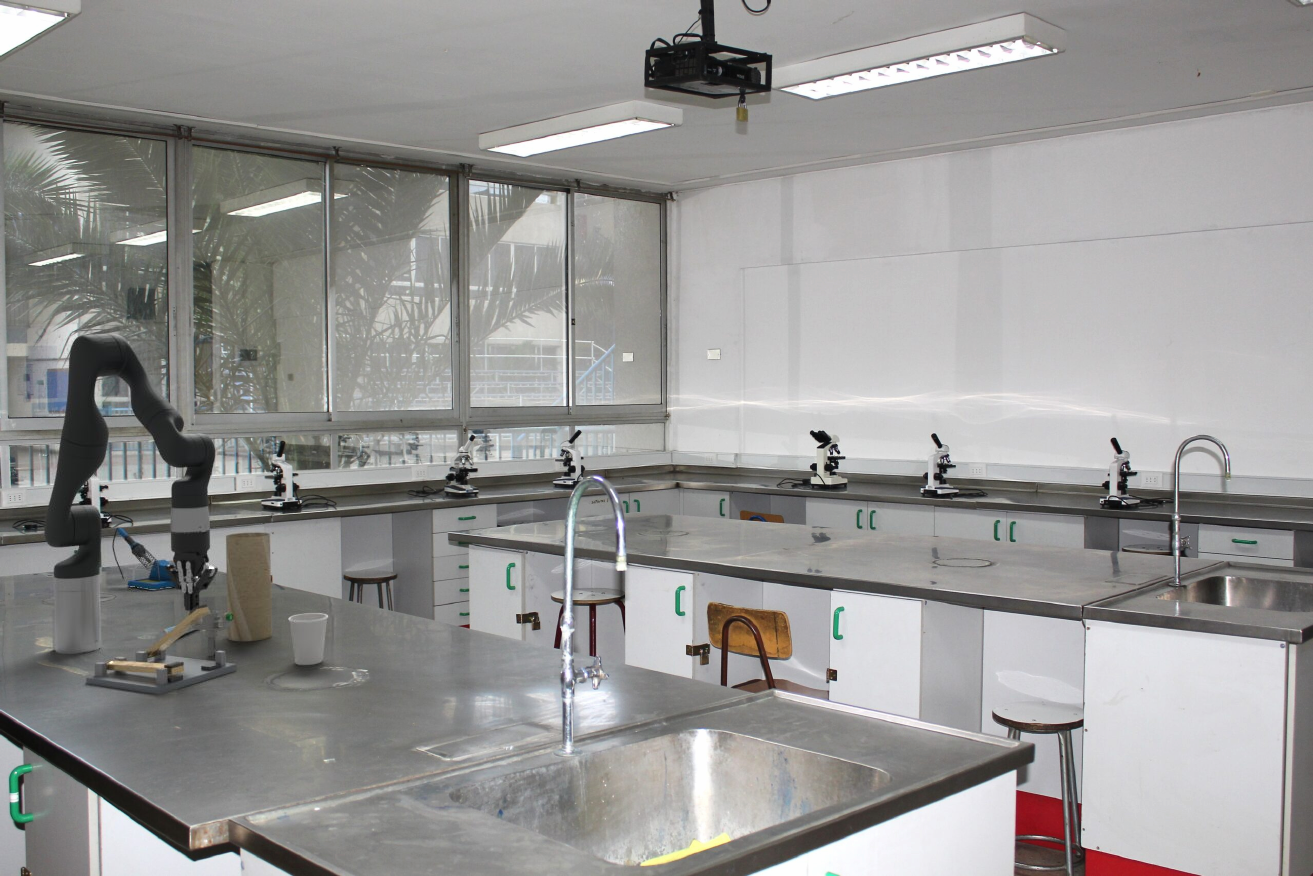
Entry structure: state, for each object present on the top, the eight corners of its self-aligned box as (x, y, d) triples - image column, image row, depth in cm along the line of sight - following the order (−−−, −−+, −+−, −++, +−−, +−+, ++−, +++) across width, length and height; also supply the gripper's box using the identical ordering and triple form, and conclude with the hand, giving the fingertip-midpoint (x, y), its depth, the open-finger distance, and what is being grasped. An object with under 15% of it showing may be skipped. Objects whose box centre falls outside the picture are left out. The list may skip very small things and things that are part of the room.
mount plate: (86, 685, 213) (85, 663, 213) (166, 662, 231) (166, 642, 231) (159, 695, 205) (159, 672, 205) (236, 670, 224) (236, 650, 223)
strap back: (144, 660, 225) (140, 652, 225) (155, 657, 228) (152, 649, 228) (199, 614, 218) (195, 606, 219) (210, 612, 221) (206, 604, 222)
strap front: (102, 670, 216) (101, 660, 216) (114, 666, 218) (114, 657, 218) (172, 675, 208) (171, 665, 208) (184, 671, 211) (183, 662, 211)
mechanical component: (228, 658, 234) (227, 614, 234) (187, 656, 236) (186, 612, 236) (236, 655, 237) (235, 611, 237) (195, 653, 239) (194, 610, 239)
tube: (236, 644, 249) (234, 538, 248) (221, 636, 256) (219, 534, 255) (278, 637, 255) (276, 535, 254) (262, 630, 263) (261, 531, 262)
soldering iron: (202, 570, 359) (201, 517, 359) (263, 578, 343) (262, 522, 343) (103, 586, 329) (102, 527, 329) (165, 595, 313) (164, 534, 313)
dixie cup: (316, 667, 226) (315, 621, 226) (281, 665, 228) (280, 620, 228) (335, 658, 235) (335, 613, 234) (301, 656, 236) (301, 612, 236)
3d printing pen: (165, 629, 247) (154, 632, 248) (168, 642, 247) (157, 645, 247) (206, 616, 267) (196, 618, 267) (210, 628, 266) (199, 631, 267)
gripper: (152, 529, 220) (153, 611, 220) (200, 531, 215) (201, 616, 215) (180, 525, 226) (182, 605, 227) (228, 527, 221) (229, 609, 222)
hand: (191, 610), depth 221 cm, fingers closed
